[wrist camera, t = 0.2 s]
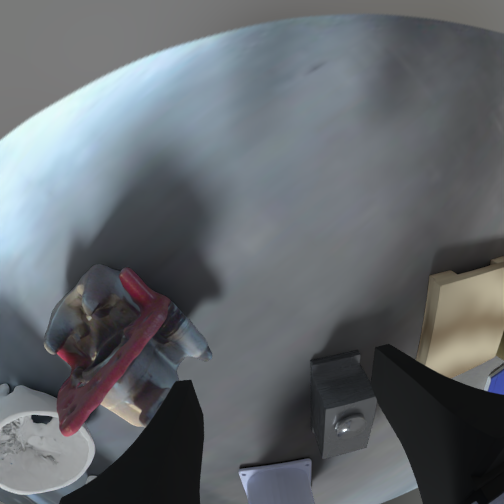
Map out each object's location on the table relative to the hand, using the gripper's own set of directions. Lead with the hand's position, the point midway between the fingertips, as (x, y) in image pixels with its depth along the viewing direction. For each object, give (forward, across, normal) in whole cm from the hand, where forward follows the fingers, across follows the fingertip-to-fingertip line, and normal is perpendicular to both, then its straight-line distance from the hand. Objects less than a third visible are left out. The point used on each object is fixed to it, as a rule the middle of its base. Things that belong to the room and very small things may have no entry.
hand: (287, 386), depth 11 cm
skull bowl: (+10, +25, +12) cm, 29 cm away
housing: (+10, -5, +12) cm, 16 cm away
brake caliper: (+10, +10, +2) cm, 14 cm away
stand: (+10, -19, +7) cm, 22 cm away
